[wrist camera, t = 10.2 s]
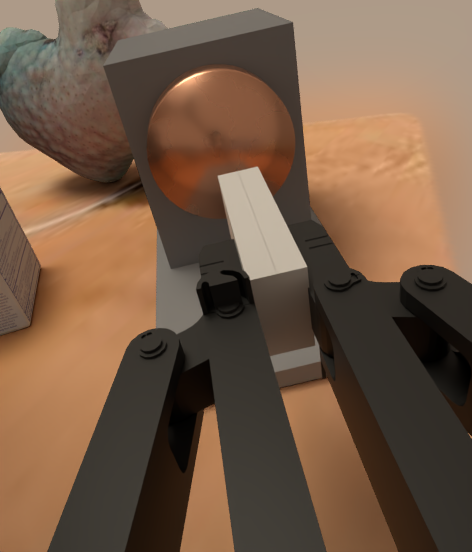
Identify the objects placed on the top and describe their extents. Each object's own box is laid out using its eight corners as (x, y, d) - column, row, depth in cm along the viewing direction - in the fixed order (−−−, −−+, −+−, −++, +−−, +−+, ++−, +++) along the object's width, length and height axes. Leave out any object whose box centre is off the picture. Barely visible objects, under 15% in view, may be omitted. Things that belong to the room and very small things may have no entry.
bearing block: (396, 360, 22) (411, 49, 14) (161, 415, 22) (33, 136, 14) (290, 184, 40) (268, 4, 32) (161, 214, 40) (105, 41, 31)
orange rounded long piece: (301, 201, 26) (286, 54, 21) (169, 232, 26) (125, 91, 21) (259, 131, 37) (243, 25, 32) (166, 152, 37) (137, 49, 32)
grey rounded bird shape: (17, 203, 48) (-95, -9, 37) (63, 168, 55) (-19, -21, 43) (189, 196, 42) (119, -66, 30) (217, 157, 49) (169, -69, 37)
